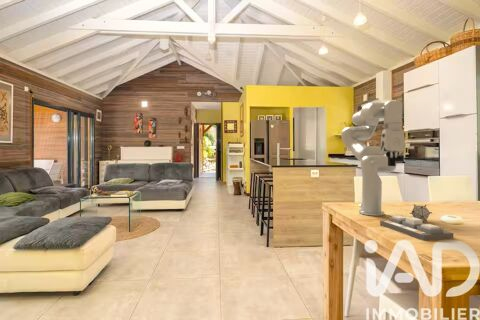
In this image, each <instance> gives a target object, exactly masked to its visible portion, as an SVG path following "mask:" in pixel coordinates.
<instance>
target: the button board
mask: <svg viewBox="0 0 480 320" xmlns="http://www.w3.org/2000/svg"><path fill="white" fill-rule="evenodd" d="M423 224H425V223H423ZM379 225H380V226H382V227H385V228H387V229H391V230H394V231H396V232H399V233H402V234H404V235H407V236H410V237H412V238H415V239H418V240H421V241H433V240H446V239H447V238H449V239H454V232H451V231H448V230H444V228H440V227H439V229H432V230H430V229H426V228H423V227H421V225H422V224H415V225H413V224H410V223H407V222H406V220H397V219H394V218H392V216H390V217H388V219H386V220H380V221H379Z"/></svg>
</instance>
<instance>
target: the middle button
mask: <svg viewBox="0 0 480 320" xmlns="http://www.w3.org/2000/svg"><path fill="white" fill-rule="evenodd" d="M406 222H407V223H410V224H413V225H415V224H423V222H424V221H423V220H422V219H418V218H415V217H413V216H412V217H407V218H406Z"/></svg>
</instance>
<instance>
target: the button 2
mask: <svg viewBox="0 0 480 320" xmlns="http://www.w3.org/2000/svg"><path fill="white" fill-rule="evenodd" d="M421 227H423V228H426V229H430V230H432V229H439V228H440V226H438V225H434V224H432V223H424V224H422V225H421Z"/></svg>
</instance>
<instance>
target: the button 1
mask: <svg viewBox="0 0 480 320" xmlns="http://www.w3.org/2000/svg"><path fill="white" fill-rule="evenodd" d="M391 217H392V218H394V219H397V220H406V218H408V217H407V216H403V215H392V216H391Z"/></svg>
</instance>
